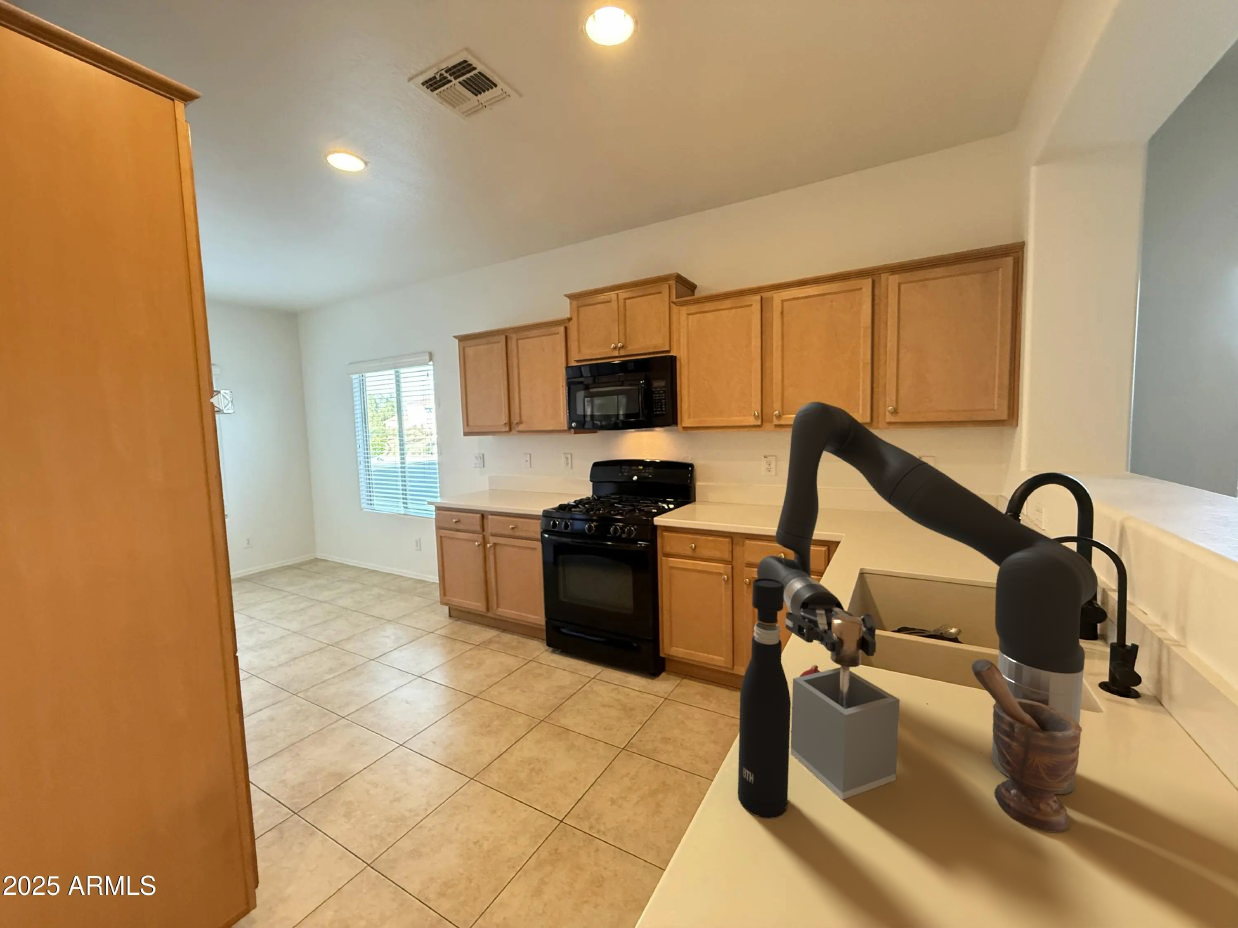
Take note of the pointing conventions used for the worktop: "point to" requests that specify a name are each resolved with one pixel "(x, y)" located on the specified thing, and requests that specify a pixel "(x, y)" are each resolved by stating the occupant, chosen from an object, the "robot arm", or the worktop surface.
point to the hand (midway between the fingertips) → (854, 648)
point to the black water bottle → (765, 711)
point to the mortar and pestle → (1030, 753)
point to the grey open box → (845, 732)
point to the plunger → (847, 650)
